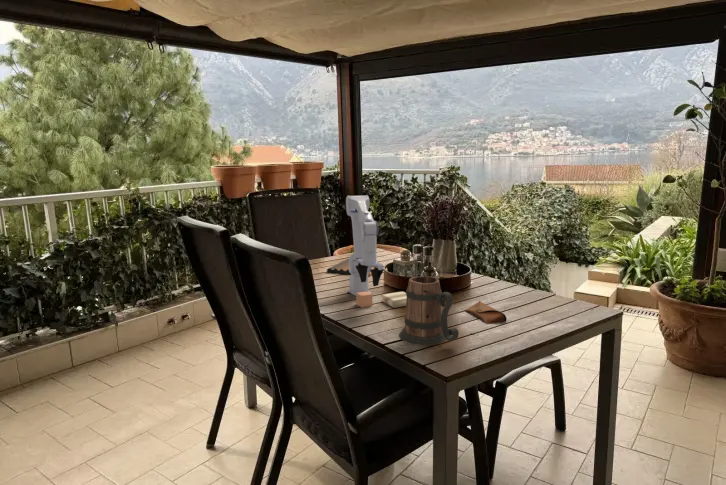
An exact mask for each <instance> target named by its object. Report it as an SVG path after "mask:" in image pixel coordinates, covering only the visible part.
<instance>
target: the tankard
mask: <svg viewBox="0 0 726 485" xmlns="http://www.w3.org/2000/svg"><path fill="white" fill-rule="evenodd" d="M407 284H408V285H407V288H406V290H405V291H406V292H405V293H406V296H407V300H406V306H405V316H404V327H403V328H402V330H401V331H400V332H399V333H398V338H399V339H400V340H401V341H403V342H406V343H408V344H412V345H419V346H432V345H433V346H434V345H439V344H442V343H445V342H446V341H448V342H451V341H455V340H457V339H458V338H459V334H460V333H459V330H458V329H457V327H451V328H449V327H448V315H449V311H450V309H451V307H452V305H453V301H454V299H453V296H452V293H450V292H448V291H444V292H442V288H441V284H440V279H439V278H437V277H435V276H413V277H411V278H409V279H408V283H407ZM441 306H442V307H444V308H443V309H442V308H441Z"/></svg>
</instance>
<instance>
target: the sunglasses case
mask: <svg viewBox="0 0 726 485" xmlns="http://www.w3.org/2000/svg"><path fill="white" fill-rule="evenodd" d="M463 311H464V312H466V313H468V314H470V315H472V316H473V317H475V318H477V319H479V320H480V321H482V322H483V323H484V324H486V325H491V324H492V325H493V324H499V323H500V324H501V323H506V322H507V320H508V319H507V318H508V317H507V316H506V314H505V313H503V312H502V311H499V310H497V309H495V308H493V307H492V306H490V305H487V304H486V303H484V302H482V301H481V300H478V301H477V302H476V303H474V304H473V305H471V306H469V307H468V308H466V309H465V310H463Z"/></svg>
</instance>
